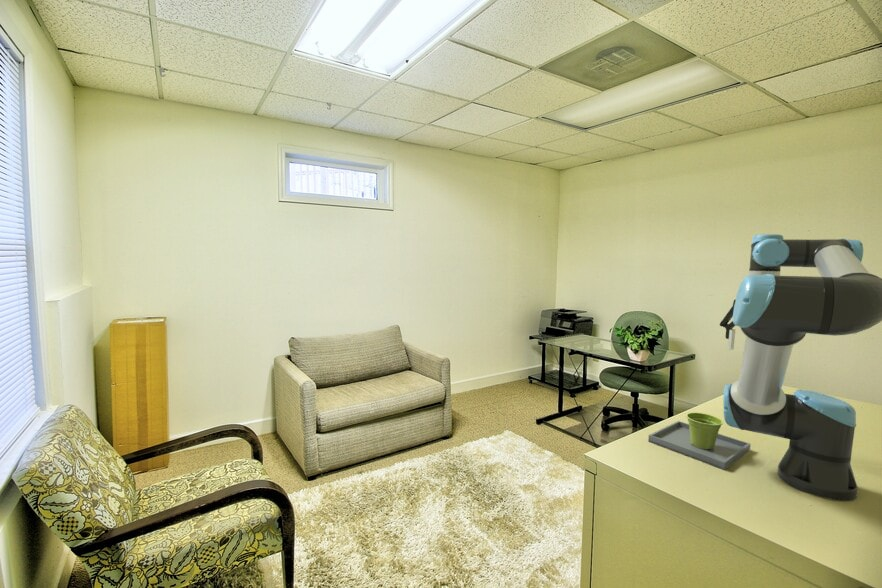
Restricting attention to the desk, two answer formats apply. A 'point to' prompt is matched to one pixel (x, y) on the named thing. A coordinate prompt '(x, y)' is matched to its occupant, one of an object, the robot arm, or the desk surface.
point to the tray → (720, 456)
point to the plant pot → (703, 429)
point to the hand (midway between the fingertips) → (756, 353)
